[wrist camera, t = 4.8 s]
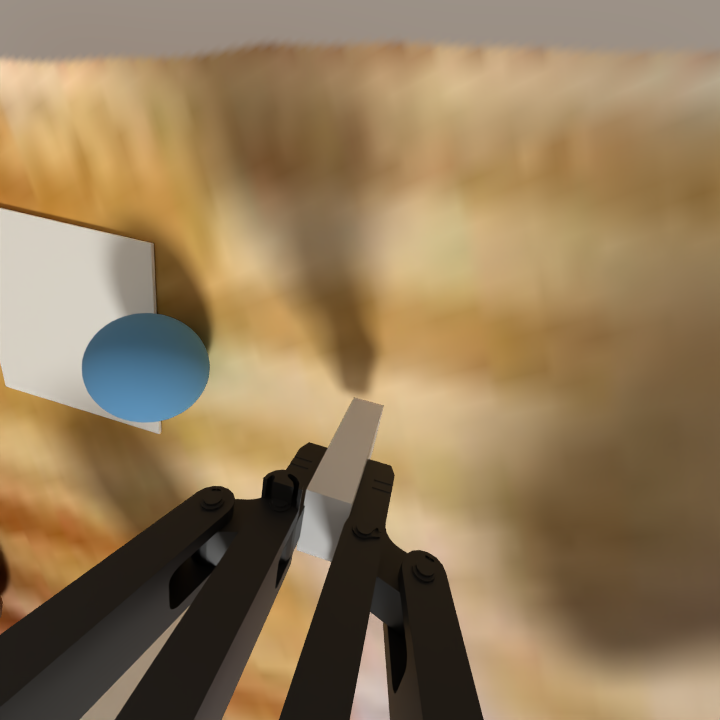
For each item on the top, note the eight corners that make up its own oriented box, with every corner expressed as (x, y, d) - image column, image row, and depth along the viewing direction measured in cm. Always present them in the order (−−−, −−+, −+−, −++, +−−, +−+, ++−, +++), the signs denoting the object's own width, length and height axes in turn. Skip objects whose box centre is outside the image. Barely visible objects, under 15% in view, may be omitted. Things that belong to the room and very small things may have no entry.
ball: (164, 293, 20) (234, 323, 18) (167, 377, 22) (230, 412, 20) (46, 308, 15) (123, 351, 13) (65, 412, 18) (133, 463, 16)
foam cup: (140, 560, 29) (-75, 798, 17) (231, 549, 26) (50, 827, 14) (195, 641, 31) (42, 899, 19) (284, 639, 28) (169, 942, 16)
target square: (153, 243, 18) (150, 243, 18) (161, 432, 23) (159, 434, 23) (-34, 199, 20) (-38, 199, 20) (9, 385, 25) (5, 386, 24)
